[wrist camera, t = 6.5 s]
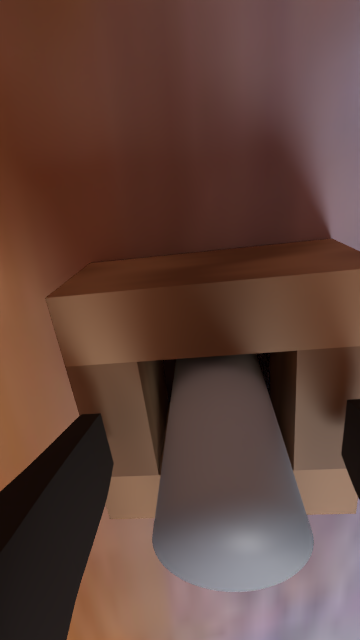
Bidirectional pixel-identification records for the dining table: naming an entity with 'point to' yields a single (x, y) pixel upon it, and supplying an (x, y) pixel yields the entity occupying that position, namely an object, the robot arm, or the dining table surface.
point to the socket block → (217, 353)
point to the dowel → (227, 482)
